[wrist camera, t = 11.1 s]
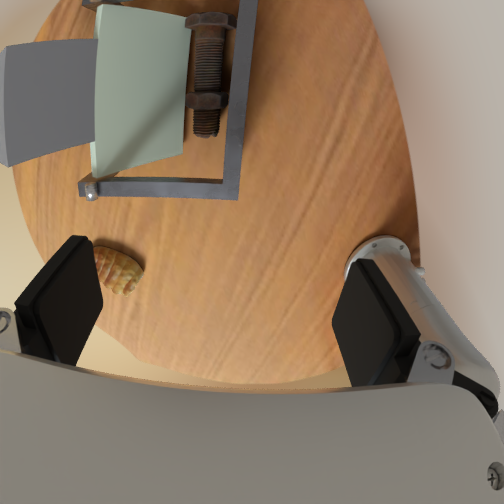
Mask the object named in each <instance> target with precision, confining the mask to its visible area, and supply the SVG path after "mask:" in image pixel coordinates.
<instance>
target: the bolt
mask: <svg viewBox="0 0 504 504" xmlns="http://www.w3.org/2000/svg"><path fill="white" fill-rule="evenodd" d="M236 26H237V20H236V18H235V17H234V16H233V15H231V14H227V13H220V12H202V13H195V14H191V15H190V16H188V17H187V18H186V19H185V28H188V29H191V30H195V44H196V45H195V47H196V48H195V49H196V51H195V52H196V53H195V55H196V56H195V58H196V59H195V62H194V63H196V64H194V65H195V66H196V67H194V68H195V70H194V71H195V73H194V74H196V75H194V77H195V78H194V79H195V81H194V82H195V83H194V85H195V86H194V88H195V89H194V90H195V91H194V92H189V93H188V94H187V95H186V96H185V105H186V106H187V107H188V108H191V109H194V111H193V112H194V114H193V115H194V117H193V118H194V119H193V120H194V122H193V123H194V125H193V126H194V127H193V129H194V130H193V131H194V133H193V134H195V135H196V136H197V137H201V138H209V137H210V135H212V136H214V137H216V136H217V134H218V132H219V131H218V130H220V129H219V127H220V126H219V124H220V123H219V122H220V120H219V119H220V117H219V116H220V112H219V111H220V108H225V107H226V106H227V105H228V99H229V95H228V94H227V93H226V92H221V90H220V89H221V87H220V86H222V85H221V82H220V81H221V79H220V78H222V77H221V75H222V74H221V72H222V71H221V70H222V68H221V67H223V66H222V64H223V63H221V62H222V61H223V60H221V59H223V57H222V56H223V55H222V54H223V52H222V51H223V49H222V48H223V47H222V46H223V45H224V41H225V33H226V30H231V29H236Z"/></svg>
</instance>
